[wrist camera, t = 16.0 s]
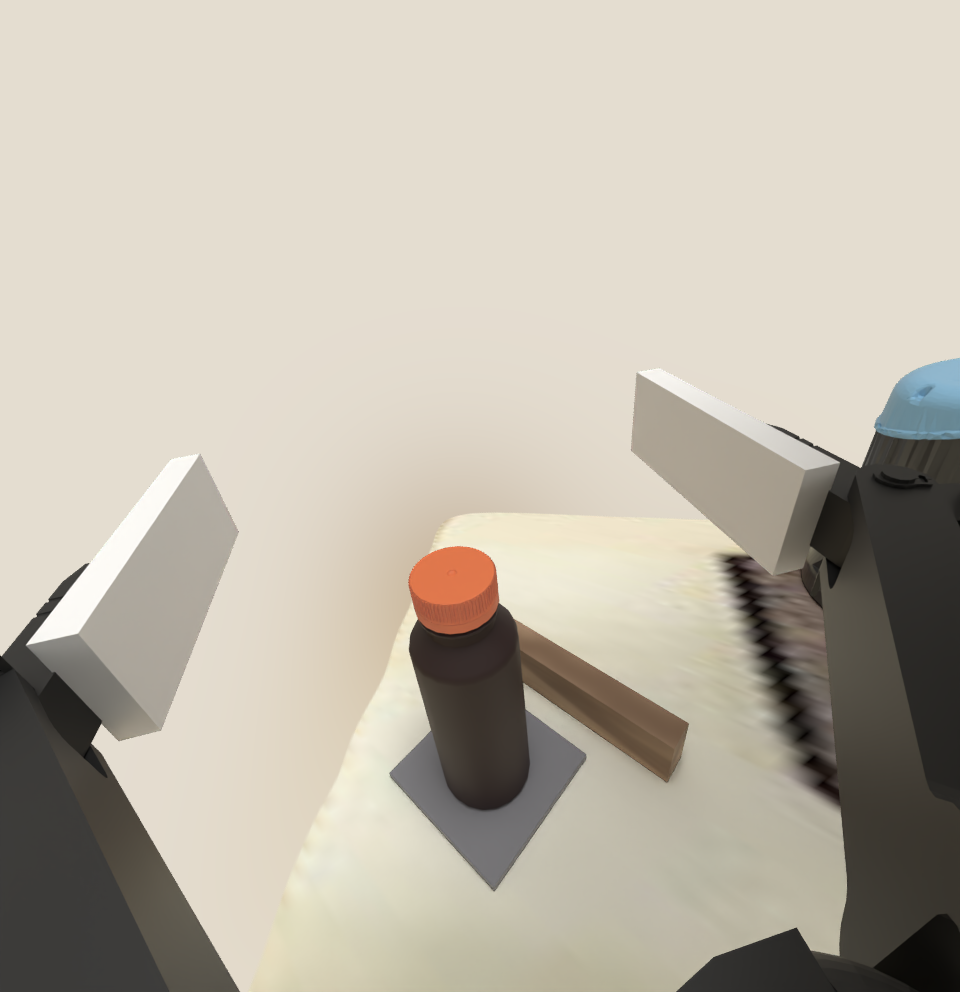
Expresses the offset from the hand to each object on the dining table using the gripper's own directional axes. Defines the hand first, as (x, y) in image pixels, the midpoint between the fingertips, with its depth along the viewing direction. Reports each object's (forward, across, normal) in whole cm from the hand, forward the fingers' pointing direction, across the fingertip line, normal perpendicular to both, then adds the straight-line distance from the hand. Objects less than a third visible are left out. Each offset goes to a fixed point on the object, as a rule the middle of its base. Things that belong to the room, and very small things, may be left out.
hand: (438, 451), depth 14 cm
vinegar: (+7, 0, -31) cm, 32 cm away
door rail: (+12, +7, -32) cm, 34 cm away
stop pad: (+7, 0, -31) cm, 32 cm away
